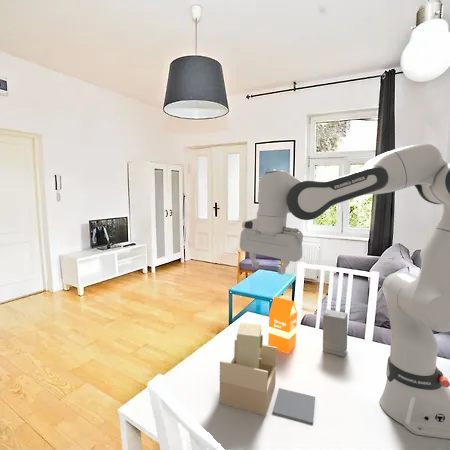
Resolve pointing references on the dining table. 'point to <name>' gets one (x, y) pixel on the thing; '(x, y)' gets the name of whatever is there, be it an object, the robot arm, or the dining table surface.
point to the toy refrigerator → (249, 345)
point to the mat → (294, 405)
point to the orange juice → (282, 325)
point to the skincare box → (335, 332)
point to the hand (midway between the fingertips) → (267, 270)
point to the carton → (249, 382)
